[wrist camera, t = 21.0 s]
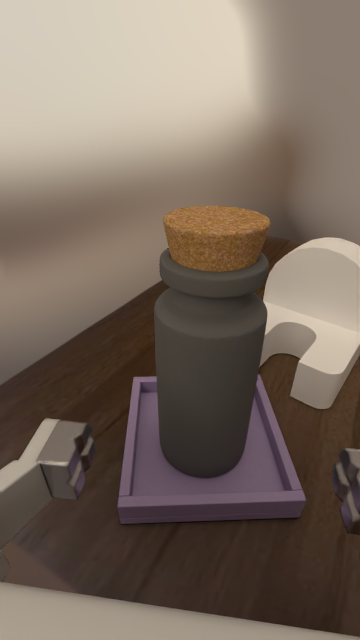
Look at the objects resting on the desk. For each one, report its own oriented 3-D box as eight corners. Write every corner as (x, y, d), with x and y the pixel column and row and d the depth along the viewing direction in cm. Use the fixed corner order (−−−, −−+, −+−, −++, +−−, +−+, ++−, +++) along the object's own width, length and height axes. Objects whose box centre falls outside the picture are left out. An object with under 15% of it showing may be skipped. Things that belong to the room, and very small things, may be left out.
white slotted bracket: (379, 319, 37) (413, 230, 31) (326, 413, 25) (368, 296, 19) (297, 294, 42) (315, 214, 36) (221, 363, 30) (232, 259, 25)
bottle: (206, 395, 26) (219, 197, 18) (263, 447, 22) (313, 220, 14) (143, 431, 23) (125, 212, 15) (195, 498, 19) (209, 247, 11)
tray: (300, 517, 18) (307, 500, 17) (120, 524, 18) (117, 507, 17) (257, 390, 27) (259, 373, 26) (135, 393, 27) (133, 376, 26)
